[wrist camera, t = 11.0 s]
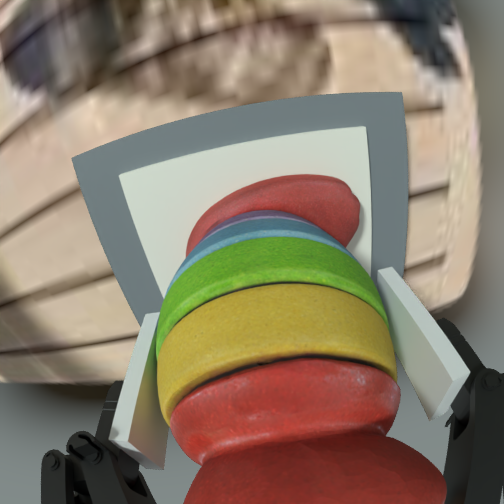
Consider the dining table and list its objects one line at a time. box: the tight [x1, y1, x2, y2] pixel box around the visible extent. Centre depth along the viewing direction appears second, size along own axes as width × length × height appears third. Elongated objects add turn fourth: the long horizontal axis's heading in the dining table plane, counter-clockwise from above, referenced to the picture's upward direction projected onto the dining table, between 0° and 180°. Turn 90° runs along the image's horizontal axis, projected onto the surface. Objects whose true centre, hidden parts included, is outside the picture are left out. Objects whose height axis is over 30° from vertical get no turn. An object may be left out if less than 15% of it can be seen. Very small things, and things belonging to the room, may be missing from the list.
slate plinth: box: [72, 92, 408, 327], centre depth 19 cm, size 20×18×3 cm
